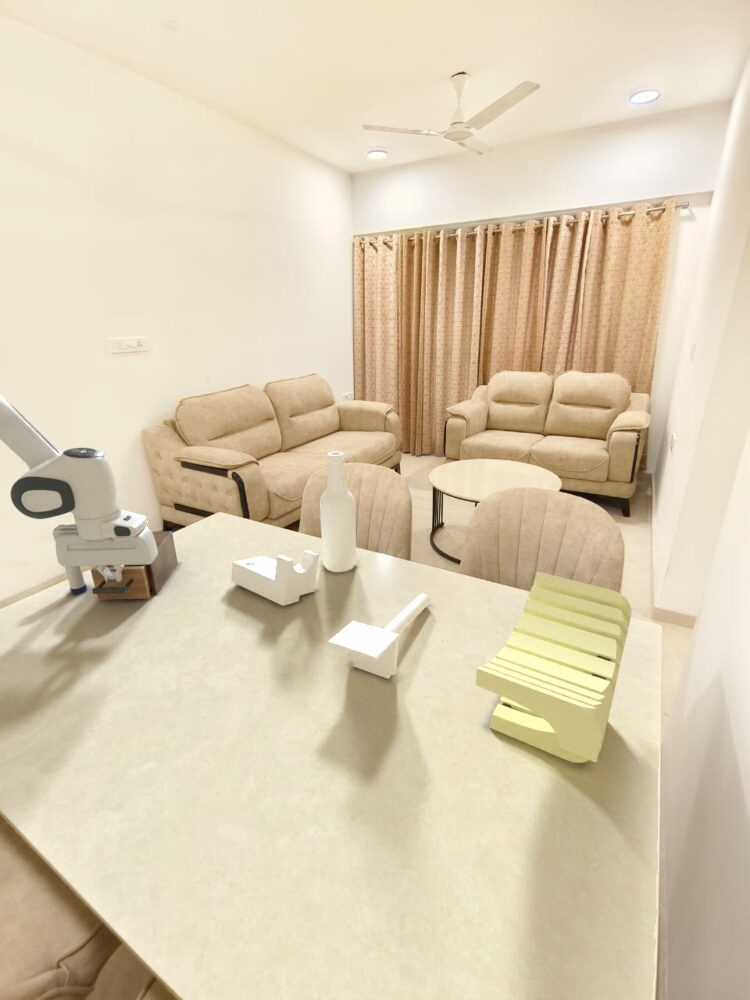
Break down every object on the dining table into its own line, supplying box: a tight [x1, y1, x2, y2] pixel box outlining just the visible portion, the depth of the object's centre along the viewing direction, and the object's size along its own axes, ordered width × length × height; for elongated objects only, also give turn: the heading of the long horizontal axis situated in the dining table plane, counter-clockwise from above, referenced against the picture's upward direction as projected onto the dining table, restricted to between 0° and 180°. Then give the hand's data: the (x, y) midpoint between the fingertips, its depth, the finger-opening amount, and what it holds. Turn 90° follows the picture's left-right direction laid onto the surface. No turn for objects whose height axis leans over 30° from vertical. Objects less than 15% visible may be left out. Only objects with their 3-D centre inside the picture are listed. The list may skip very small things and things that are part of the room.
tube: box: [64, 566, 88, 596], centre depth 118 cm, size 3×3×9 cm
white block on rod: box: [327, 593, 431, 680], centre depth 98 cm, size 9×9×32 cm
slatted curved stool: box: [475, 571, 632, 764], centre depth 78 cm, size 30×16×18 cm, turn 148°
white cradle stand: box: [230, 549, 320, 607], centre depth 119 cm, size 18×10×10 cm, turn 53°
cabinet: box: [147, 530, 179, 595], centre depth 123 cm, size 15×13×10 cm
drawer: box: [90, 564, 152, 601], centre depth 117 cm, size 18×11×8 cm, turn 1°
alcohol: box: [319, 451, 358, 573], centre depth 124 cm, size 9×9×30 cm
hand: (114, 580), depth 110 cm, fingers closed
